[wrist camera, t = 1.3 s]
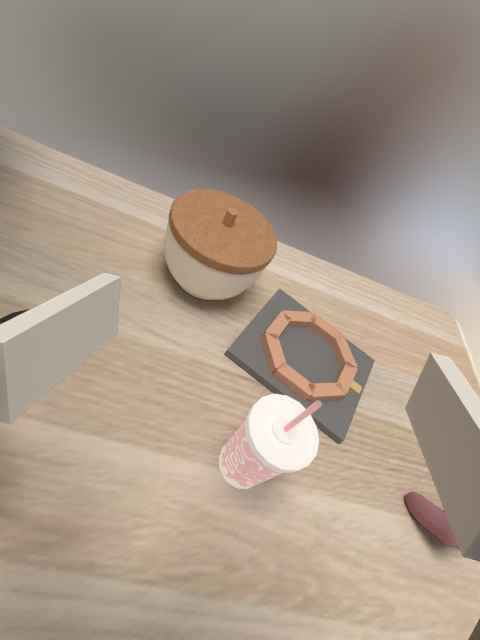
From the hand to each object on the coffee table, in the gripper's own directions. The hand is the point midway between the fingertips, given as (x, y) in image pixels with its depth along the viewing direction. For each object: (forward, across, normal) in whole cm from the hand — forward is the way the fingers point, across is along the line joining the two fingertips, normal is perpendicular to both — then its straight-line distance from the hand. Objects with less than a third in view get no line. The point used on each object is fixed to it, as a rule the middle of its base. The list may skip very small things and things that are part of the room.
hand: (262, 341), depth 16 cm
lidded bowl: (+31, -10, -9) cm, 34 cm away
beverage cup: (+13, 0, -20) cm, 24 cm away
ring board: (+28, +5, -15) cm, 32 cm away
